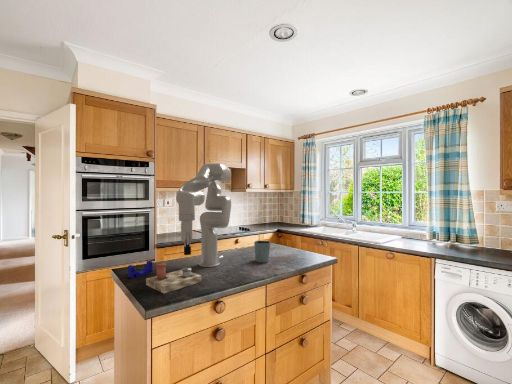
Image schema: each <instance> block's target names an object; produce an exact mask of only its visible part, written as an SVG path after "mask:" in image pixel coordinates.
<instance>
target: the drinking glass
mask: <svg viewBox="0 0 512 384" xmlns="http://www.w3.org/2000/svg"><path fill="white" fill-rule="evenodd" d="M253 243H254V256H255V257H254V260H255V262H257V263H260V264H261V263H268V262H269V260H270V249H271V241H268V240H255V241H254V242H253Z"/></svg>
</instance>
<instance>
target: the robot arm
mask: <svg viewBox="0 0 512 384" xmlns="http://www.w3.org/2000/svg"><path fill="white" fill-rule="evenodd" d="M231 177H232V171H231V169H230V168H229V167H228V166H227V165H225V164H223V163H219V162H217V163H205V164H202V166H201V167H200V168H199V170H198V172H197V174H196V176H195V177H194V178H191V179H190V180H189V179H188V180H187V181H186V182H184V183H183V184H182V185H181V186H180V187H179V189H178V191H177V193H176V195H175V200H176V203H177V204H178V222H180V241H181V242H184V243H183V245H184V246H183V254H184V256H191V255H192V245H191V242H192V241H193V221H195V220H196V218H195V217H196V216H195V215H196V214H195V211H196V210H195V207H196V206H201V205H202V204H204V206H205V207H204V208H205V210H207V211H204V212H202V213H201V214H200V216H199V223H200V230H201V231H200V232H201V233H200V234H201V238H200V239H201V244H200V245H201V246H200V247H201V253H200V254H201V260H200V261H199V262H198V266H199V267H202V268H215V267H218V266H220V264H221V261H220V260H223V259H224V256H223V255H218V236H219V235H218V232H217V231H216V230H215V229H226V228H228V226H229V225H230V218H231V210H232V199H231V197H229V196H228V195H221V194H222V188H221V187H220V184H218V182H228V181H230V179H231ZM204 189H207V192H206V196H205V194H204V192H203V191H202V190H204Z"/></svg>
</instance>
